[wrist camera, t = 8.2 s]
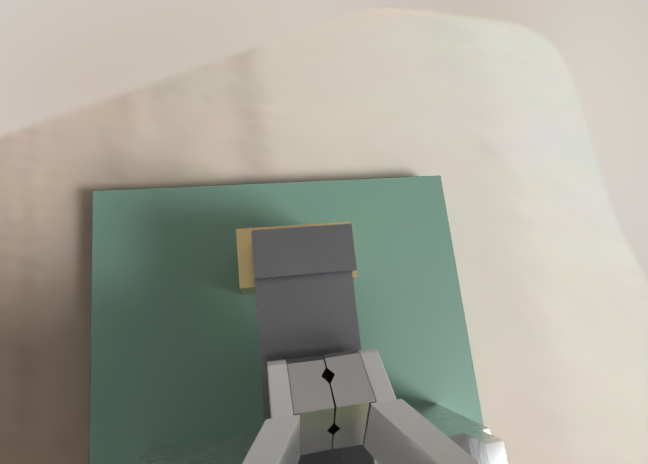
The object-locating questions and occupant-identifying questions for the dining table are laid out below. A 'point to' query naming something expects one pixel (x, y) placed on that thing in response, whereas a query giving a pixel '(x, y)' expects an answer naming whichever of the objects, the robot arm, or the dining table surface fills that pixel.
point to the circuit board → (240, 310)
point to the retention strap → (306, 306)
